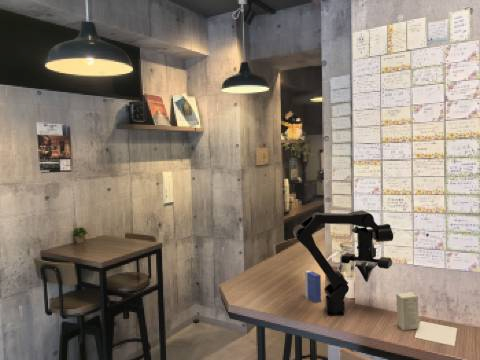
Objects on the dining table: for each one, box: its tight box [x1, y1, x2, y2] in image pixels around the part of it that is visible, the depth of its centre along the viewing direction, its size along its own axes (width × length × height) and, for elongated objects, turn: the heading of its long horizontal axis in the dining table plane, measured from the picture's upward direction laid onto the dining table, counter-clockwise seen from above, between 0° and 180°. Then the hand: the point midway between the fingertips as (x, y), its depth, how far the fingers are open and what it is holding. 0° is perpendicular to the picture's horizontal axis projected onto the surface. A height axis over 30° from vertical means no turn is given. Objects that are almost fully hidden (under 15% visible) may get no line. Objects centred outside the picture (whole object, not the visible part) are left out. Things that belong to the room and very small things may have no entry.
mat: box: [414, 320, 458, 347], centre depth 137 cm, size 12×14×1 cm
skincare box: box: [395, 291, 420, 331], centre depth 141 cm, size 6×4×12 cm
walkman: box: [304, 270, 322, 304], centre depth 169 cm, size 8×3×12 cm, turn 25°
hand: (366, 281), depth 156 cm, fingers closed
